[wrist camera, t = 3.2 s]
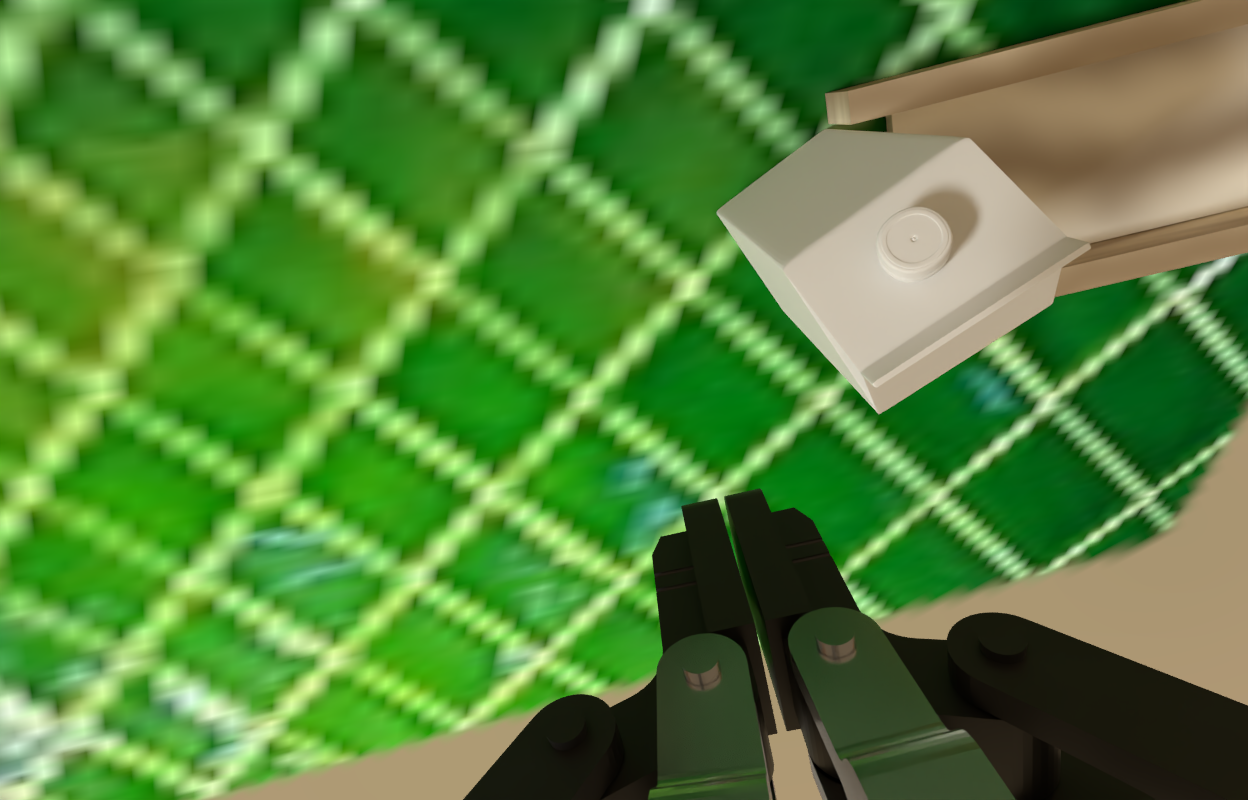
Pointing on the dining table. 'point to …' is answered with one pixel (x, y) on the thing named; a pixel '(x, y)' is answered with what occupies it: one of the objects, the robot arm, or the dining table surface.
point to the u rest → (1102, 132)
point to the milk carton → (898, 253)
